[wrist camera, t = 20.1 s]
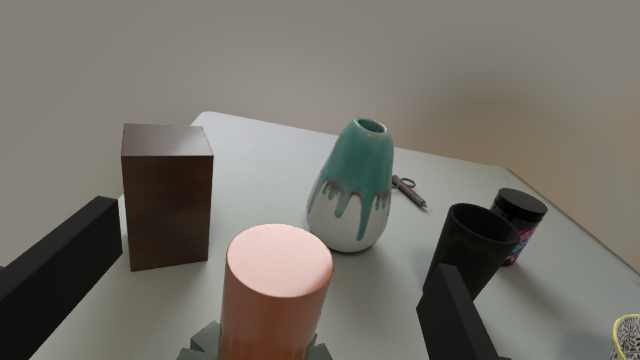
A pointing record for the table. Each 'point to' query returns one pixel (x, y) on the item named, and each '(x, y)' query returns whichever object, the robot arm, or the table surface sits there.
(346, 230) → the vase
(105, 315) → the table surface
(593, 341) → the table surface
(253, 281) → the orange glossy cylinder
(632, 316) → the bowl
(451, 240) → the cup
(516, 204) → the supplement container
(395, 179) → the syringe
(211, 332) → the segmented green ring
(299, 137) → the table surface
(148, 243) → the dark brown rectangular block
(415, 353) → the table surface
